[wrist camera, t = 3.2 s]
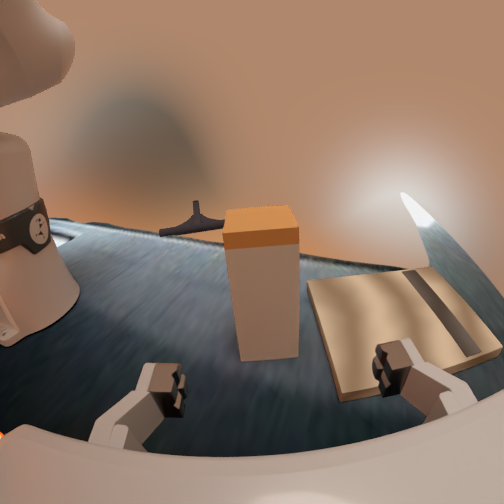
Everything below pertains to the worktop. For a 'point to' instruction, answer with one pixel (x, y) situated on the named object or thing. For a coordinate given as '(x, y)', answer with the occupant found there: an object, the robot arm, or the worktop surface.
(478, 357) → the subfloor panel
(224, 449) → the worktop surface
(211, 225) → the bracket
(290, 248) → the orange-capped beige carton
